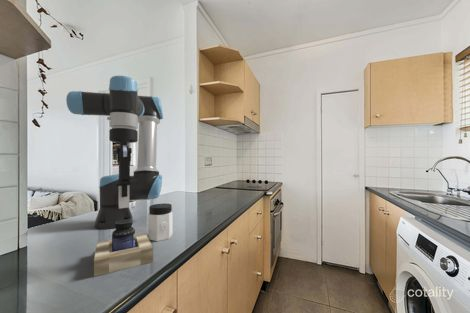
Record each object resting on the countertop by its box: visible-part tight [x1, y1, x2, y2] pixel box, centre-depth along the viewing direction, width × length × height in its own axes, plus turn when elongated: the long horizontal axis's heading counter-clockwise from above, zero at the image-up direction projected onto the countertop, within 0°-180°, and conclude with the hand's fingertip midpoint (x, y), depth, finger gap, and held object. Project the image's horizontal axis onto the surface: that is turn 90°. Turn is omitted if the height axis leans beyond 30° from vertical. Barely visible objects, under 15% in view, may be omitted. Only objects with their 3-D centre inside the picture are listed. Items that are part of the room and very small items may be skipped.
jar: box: [147, 203, 174, 242], centre depth 78 cm, size 9×8×12 cm
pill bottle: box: [111, 219, 136, 252], centre depth 61 cm, size 6×6×11 cm
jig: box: [93, 233, 154, 278], centre depth 62 cm, size 16×14×4 cm
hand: (123, 206), depth 61 cm, fingers open, 3 cm apart
